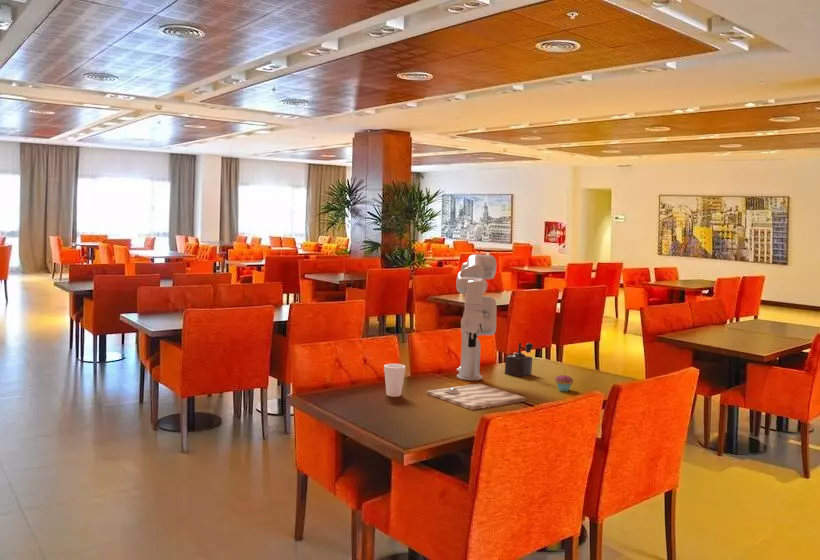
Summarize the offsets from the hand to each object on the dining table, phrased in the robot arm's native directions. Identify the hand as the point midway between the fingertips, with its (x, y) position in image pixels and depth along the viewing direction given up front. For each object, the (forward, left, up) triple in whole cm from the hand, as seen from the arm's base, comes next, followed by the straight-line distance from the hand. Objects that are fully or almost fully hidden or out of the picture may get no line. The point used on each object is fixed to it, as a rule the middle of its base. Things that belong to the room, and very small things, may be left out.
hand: (471, 346), depth 322 cm
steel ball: (+3, -13, -19) cm, 23 cm away
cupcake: (+18, +44, -21) cm, 52 cm away
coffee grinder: (-15, +50, -21) cm, 56 cm away
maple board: (+9, -4, -21) cm, 23 cm away
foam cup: (-12, -34, -21) cm, 42 cm away
